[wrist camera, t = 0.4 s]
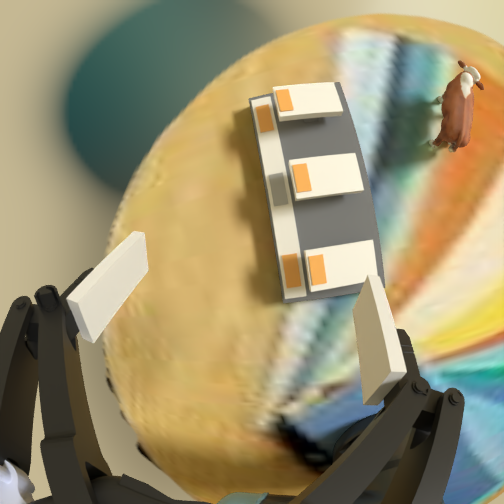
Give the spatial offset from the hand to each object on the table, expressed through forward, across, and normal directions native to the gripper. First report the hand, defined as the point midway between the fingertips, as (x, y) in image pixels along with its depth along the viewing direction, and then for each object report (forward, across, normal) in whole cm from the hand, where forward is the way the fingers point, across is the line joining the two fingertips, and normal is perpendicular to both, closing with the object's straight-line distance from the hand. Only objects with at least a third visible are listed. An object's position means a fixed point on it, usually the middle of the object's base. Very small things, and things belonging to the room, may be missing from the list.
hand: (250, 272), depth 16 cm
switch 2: (+11, -8, +5) cm, 14 cm away
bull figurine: (+23, -21, -13) cm, 34 cm away
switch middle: (+15, -5, -2) cm, 16 cm away
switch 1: (+19, -2, -10) cm, 22 cm away
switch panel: (+19, -5, 0) cm, 19 cm away
